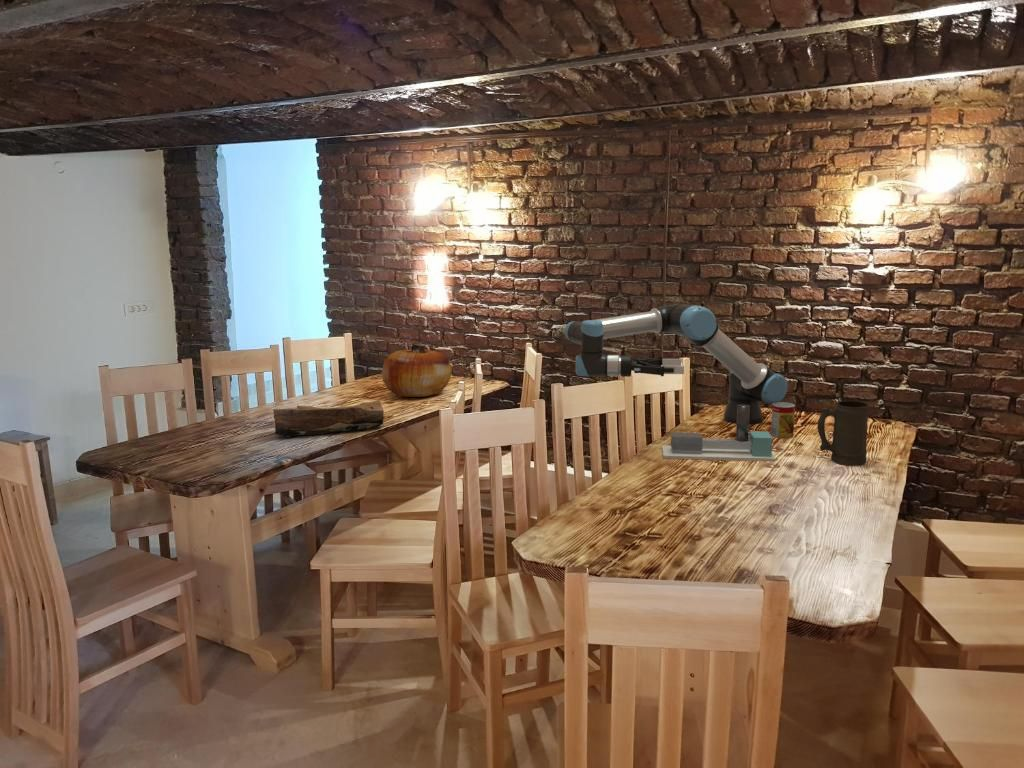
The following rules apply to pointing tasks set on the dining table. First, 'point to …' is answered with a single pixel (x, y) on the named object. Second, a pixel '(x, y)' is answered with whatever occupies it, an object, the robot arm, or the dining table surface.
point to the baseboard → (716, 455)
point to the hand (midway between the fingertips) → (682, 366)
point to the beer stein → (846, 432)
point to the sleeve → (686, 443)
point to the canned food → (782, 420)
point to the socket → (761, 443)
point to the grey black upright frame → (741, 434)
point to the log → (327, 419)
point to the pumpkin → (416, 372)
